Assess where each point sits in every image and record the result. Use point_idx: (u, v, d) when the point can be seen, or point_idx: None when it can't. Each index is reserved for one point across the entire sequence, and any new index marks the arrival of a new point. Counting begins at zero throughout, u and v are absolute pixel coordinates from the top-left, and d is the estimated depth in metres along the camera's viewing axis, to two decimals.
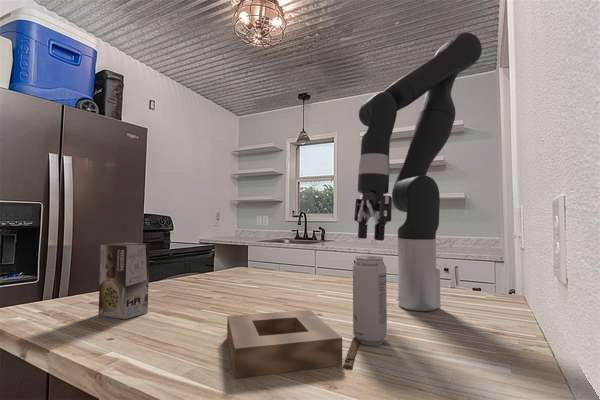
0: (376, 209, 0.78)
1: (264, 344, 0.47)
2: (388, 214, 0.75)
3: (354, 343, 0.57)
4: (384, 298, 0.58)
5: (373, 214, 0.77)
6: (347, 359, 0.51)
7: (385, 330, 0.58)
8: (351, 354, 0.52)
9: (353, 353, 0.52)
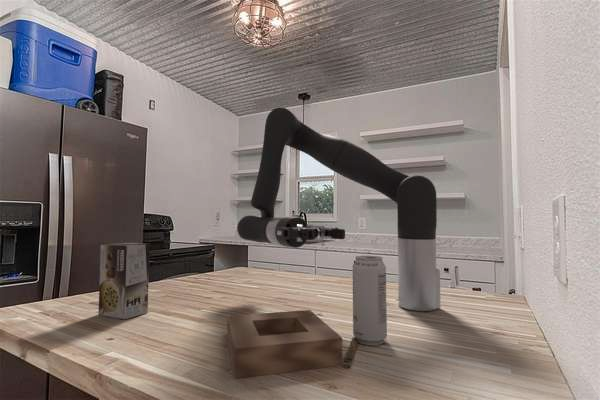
0: None
1: (264, 344, 0.47)
2: (287, 230, 0.71)
3: (353, 343, 0.57)
4: (384, 298, 0.58)
5: (298, 240, 0.72)
6: (346, 359, 0.51)
7: (385, 330, 0.58)
8: (350, 354, 0.52)
9: (352, 353, 0.52)
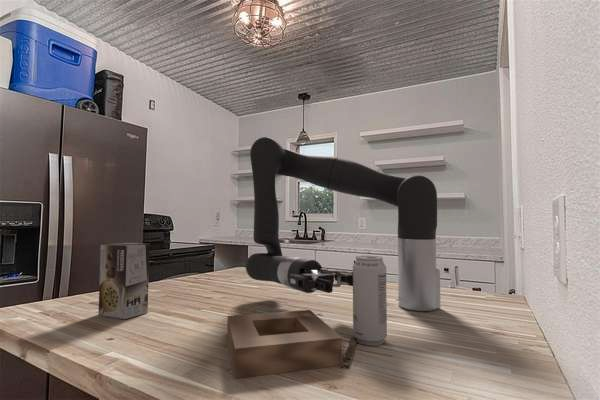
0: None
1: (264, 344, 0.47)
2: None
3: (352, 343, 0.57)
4: (384, 298, 0.58)
5: None
6: (345, 359, 0.51)
7: (385, 330, 0.58)
8: (349, 354, 0.52)
9: (351, 353, 0.52)
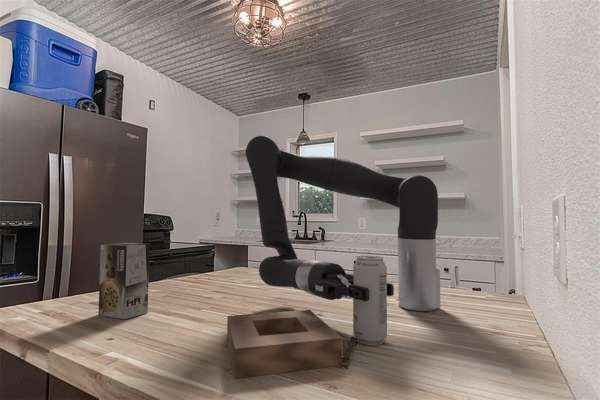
0: None
1: (264, 344, 0.47)
2: None
3: (351, 343, 0.57)
4: (384, 298, 0.58)
5: (344, 296, 0.61)
6: (343, 359, 0.51)
7: (385, 330, 0.58)
8: (347, 354, 0.52)
9: (349, 353, 0.53)
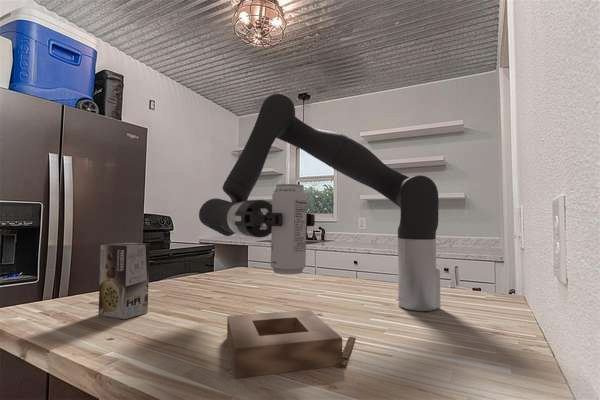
0: None
1: (264, 344, 0.47)
2: (249, 214, 0.56)
3: (349, 343, 0.57)
4: (301, 226, 0.55)
5: (263, 227, 0.58)
6: None
7: (302, 259, 0.55)
8: (345, 354, 0.52)
9: (348, 353, 0.53)
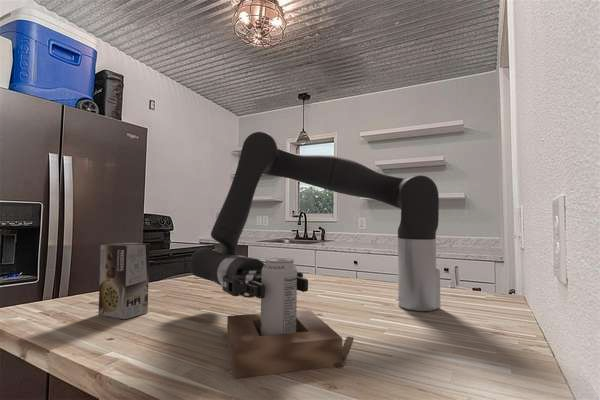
0: None
1: (264, 344, 0.47)
2: None
3: (347, 342, 0.57)
4: (291, 304, 0.53)
5: None
6: None
7: None
8: (343, 353, 0.52)
9: (345, 352, 0.53)
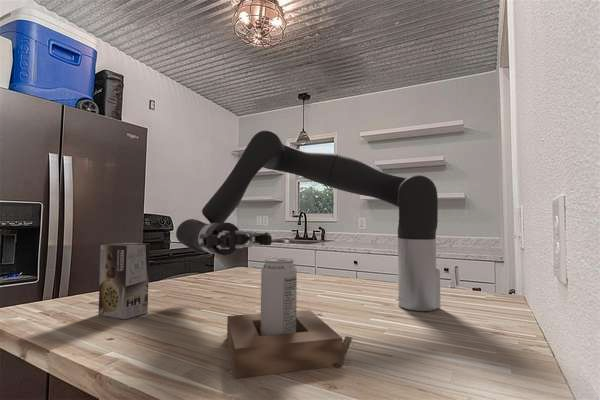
0: None
1: (264, 344, 0.47)
2: None
3: (345, 342, 0.57)
4: (291, 304, 0.53)
5: (221, 248, 0.67)
6: None
7: None
8: None
9: (343, 352, 0.53)
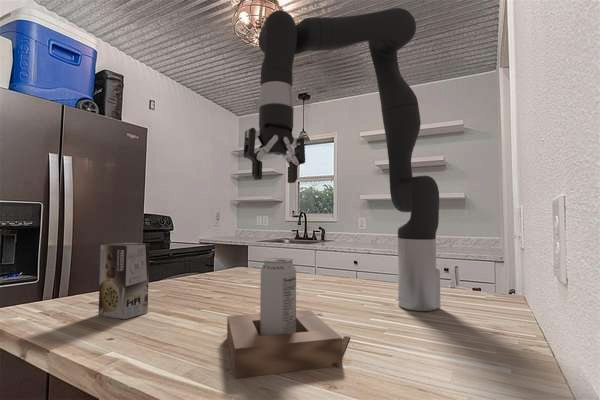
0: (263, 146, 0.70)
1: (264, 344, 0.47)
2: None
3: (343, 342, 0.57)
4: (290, 304, 0.53)
5: None
6: None
7: None
8: None
9: None
